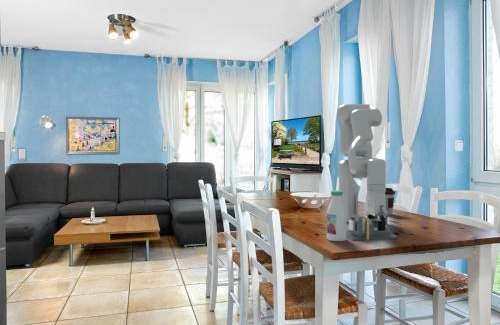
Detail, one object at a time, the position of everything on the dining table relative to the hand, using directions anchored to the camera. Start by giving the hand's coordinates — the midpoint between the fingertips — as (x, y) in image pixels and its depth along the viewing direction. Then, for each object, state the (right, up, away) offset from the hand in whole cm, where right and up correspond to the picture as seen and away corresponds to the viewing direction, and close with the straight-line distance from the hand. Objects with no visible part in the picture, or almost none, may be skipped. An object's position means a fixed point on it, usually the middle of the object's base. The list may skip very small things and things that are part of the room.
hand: (375, 228), depth 157 cm
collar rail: (-3, -3, 0) cm, 5 cm away
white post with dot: (-4, 0, -1) cm, 4 cm away
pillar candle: (+10, -3, +27) cm, 29 cm away
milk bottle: (-18, -4, -6) cm, 19 cm away
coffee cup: (+24, -2, +53) cm, 58 cm away
